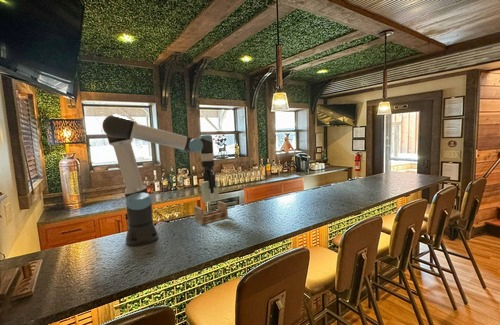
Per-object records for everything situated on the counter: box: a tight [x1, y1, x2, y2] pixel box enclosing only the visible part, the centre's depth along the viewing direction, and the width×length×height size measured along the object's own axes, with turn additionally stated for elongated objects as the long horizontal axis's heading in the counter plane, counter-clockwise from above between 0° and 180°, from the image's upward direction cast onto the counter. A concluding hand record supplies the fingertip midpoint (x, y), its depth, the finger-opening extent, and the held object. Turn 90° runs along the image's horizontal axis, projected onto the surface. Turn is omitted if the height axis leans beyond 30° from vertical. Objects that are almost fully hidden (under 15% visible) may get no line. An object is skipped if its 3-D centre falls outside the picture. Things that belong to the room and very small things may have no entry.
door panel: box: [200, 179, 220, 203], centre depth 155 cm, size 10×4×12 cm, turn 126°
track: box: [193, 200, 229, 225], centre depth 156 cm, size 18×10×9 cm, turn 126°
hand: (210, 197), depth 155 cm, fingers closed on door panel, 3 cm apart
